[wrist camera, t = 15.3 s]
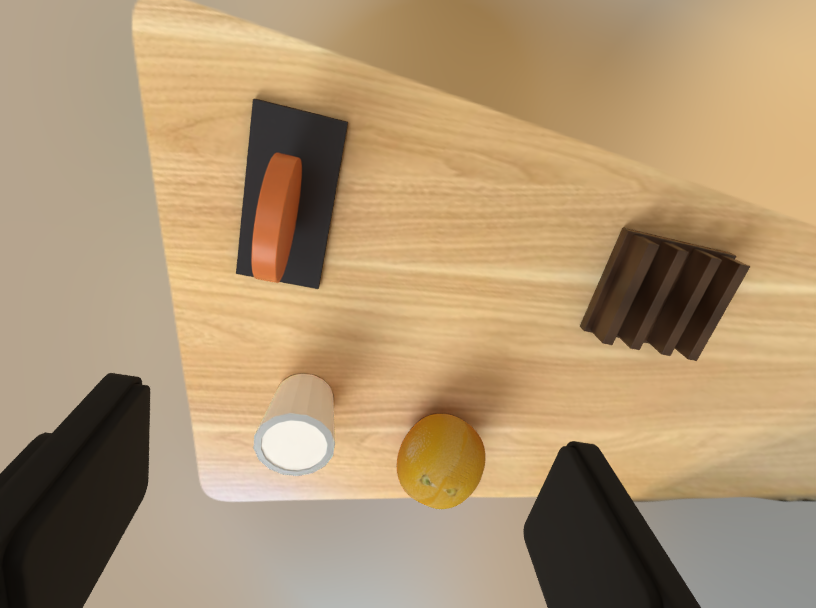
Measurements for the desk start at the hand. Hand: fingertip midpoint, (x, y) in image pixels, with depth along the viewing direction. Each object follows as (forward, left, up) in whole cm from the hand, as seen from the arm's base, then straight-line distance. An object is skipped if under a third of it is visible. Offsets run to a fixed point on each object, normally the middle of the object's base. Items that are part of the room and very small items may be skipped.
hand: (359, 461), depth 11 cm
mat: (+2, -6, -30) cm, 31 cm away
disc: (+2, -6, -30) cm, 30 cm away
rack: (+3, +28, -30) cm, 41 cm away
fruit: (+23, +12, -31) cm, 40 cm away
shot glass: (+21, -2, -31) cm, 37 cm away
